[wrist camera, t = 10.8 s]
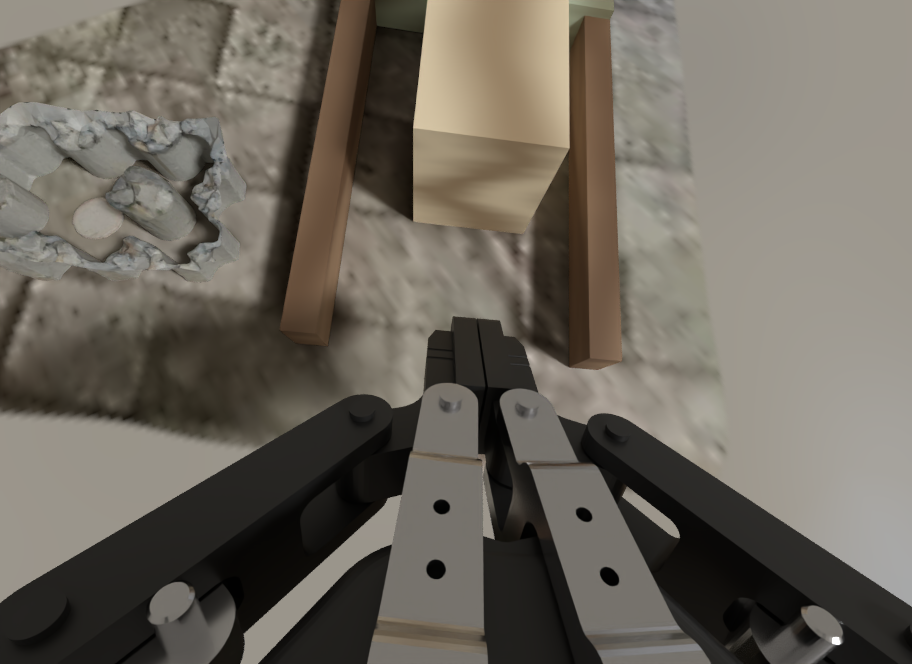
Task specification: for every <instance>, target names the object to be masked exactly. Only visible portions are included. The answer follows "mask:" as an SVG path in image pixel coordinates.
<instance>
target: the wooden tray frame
mask: <svg viewBox="0 0 912 664" xmlns="http://www.w3.org/2000/svg"><path fill="white" fill-rule="evenodd" d="M426 9H427V0H341V3H340V8H339V13H338V19H337V24H336V30H335V35H334V40H333V46H332V51H331V56H330V62H329V67H328V72H327V78H326V83H325V89H324V94H323V99H322V105H321V110H320V115H319V121H318V126H317V131H316V137H315V142H314V148H313V153H312V158H311V164H310V169H309V174H308V180H307V185H306V190H305V196H304V201H303V207H302V212H301V217H300V223H299V228H298V233H297V239H296V244H295V249H294V255H293V260H292V266H291V271H290V276H289V282H288V287H287V292H286V298H285V303H284V308H283V314H282V319H281V325H280V331H281V332H282V333H284V334H285V335H286V336H287V337H289V338H290V339H291V340H292V341H294V342H295V343H297V344H309V345H320V346H328V342H329V336H330V329H331V322H332V316H333V309H334V303H335V296H336V290H337V283H338V277H339V270H340V264H341V257H342V251H343V244H344V238H345V231H346V225H347V218H348V212H349V205H350V199H351V192H352V185H353V179H354V172H355V166H356V159H357V153H358V146H359V140H360V133H361V127H362V120H363V114H364V107H365V101H366V94H367V88H368V81H369V75H370V68H371V62H372V55H373V48H374V42H375V35H376V29H377V26H381V27H388V28H394V29H401V30H408V31H414V32H421V33H424V27H425V18H426ZM613 12H614V0H569V141H570V148H569V367H571V368H582V369H593V370H599V369H602V368H604V367H607V366H610V365H613V364H616V363H618V362H621V361H622V343H621V316H620V288H619V260H618V233H617V205H616V178H615V150H614V122H613V95H612V67H611V39H610V18H611V16H612V14H613Z"/></svg>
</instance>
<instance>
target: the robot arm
mask: <svg viewBox="0 0 912 664" xmlns="http://www.w3.org/2000/svg"><path fill="white" fill-rule="evenodd" d="M478 454H485V457H486V465H485V469H484V474H483V481H484V486H485V491H486V496H487V502H488V506H489V512H490V517H491V522H492V528H493V533H494V538H495V540H494V539H490V538H487V537H484V536H483V494H482V493H483V484H482V460H481V459H478ZM627 486H628V487H629V488H630V489H632V490H633V491H634V492H635V493H637V494H638V495H639V496H641V497H642V498H643V499H645V500H646V501H647V502H648V503H650V504H651V505H652V506H654V507H655V508H656V509H657V510H659V511H660V512H661V513H663V514H664V515H665V516H666V517H668V518H669V519H671V521H672V522H673V523H674V524H675V525H676V527H677V529H678V531H679V534H680V538H675V537H673V536H671V535H669V534H668V533H667V532H665V531H664V530H663V529H661V528H660V527H659V526H658V525H656V524H655V523H654V522H652V520H650V519H649V518H648V517H647V516H645V515H644V514H643V513H641V512H640V511H639V510H638V509H636V508H635V507H634V506H633V505H632V504H630V503H629V502H628V501H626V500H625V499H624V498H623V497H622V495H623V493H624V491H625V489H626V487H627ZM398 495H402V497H401V502H400V507H399V513H398V518H397V523H396V528H395V534H394V539H393V543H392V545H389V546H386V547H384V548H381V549H379V550H377V551H375V552H373V553H371V554H369V555H368V556H366V557H364V558H363V559H361V560H360V561H358V562H357V563H356V564H355V565H354V566H352V567H351V568H350V569H349V570H348V571H347V572H346V573H345V574H344V575H343V576H342V577H341V578H340V579H339V580H338V581H337V582H336V583H335V584H334V585H333V586H332V587H331V588H330V589H329V590H328V591H327V592H326V593H325V594H324V595H323V596H322V598H321V599H320V600H319V601H318V602H317V603H316V604H315V605H314V606H313V607H312V608H311V609H310V610H309V611H308V612H307V613H306V614H305V615H304V616H303V617H302V618H301V619H300V620H299V622H298V623H297V624H296V625H295V626H294V627H293V628H292V629H291V630H290V631H289V632H288V633H287V634H286V635H285V636H284V637H283V638H282V639H281V641H279V642H278V643H277V645H276V646H275V647H274V648H273V649H272V650H271V651H270V652H269V653H268V654H267V655H266V656H265V657H264V658H263V659H262V660H261V661H260V662H259V663H258V664H912V607H911V606H910V605H908V604H907V603H905V602H904V601H902V600H901V599H899V598H897V597H896V596H894V595H893V594H891V593H890V592H888V591H887V590H885V589H884V588H882V587H881V586H879V585H878V584H876V583H875V582H873V581H871V580H870V579H869V578H867V577H866V576H864V575H863V574H861V573H859V572H858V571H857V570H855V569H853V568H852V567H850V566H849V565H847V564H846V563H844V562H842V561H841V560H840V559H838V558H837V557H835V556H834V555H832V554H831V553H829V552H828V551H826V550H825V549H823V548H821V547H820V546H819V545H817V544H815V543H814V542H812V541H811V540H809V539H808V538H806V537H804V536H803V535H802V534H800V533H799V532H797V531H796V530H794V529H793V528H791V527H790V526H788V525H787V524H785V523H784V522H782V521H780V520H779V519H777V518H776V517H774V516H773V515H771V514H769V513H768V512H767V511H765V510H764V509H762V508H761V507H759V506H758V505H756V504H755V503H753V502H752V501H750V500H749V499H747V498H745V497H744V496H743V495H741V494H739V493H738V492H736V491H735V490H733V489H732V488H730V487H729V486H727V485H726V484H724V483H723V482H721V481H720V480H718V479H717V478H715V477H714V476H712V475H711V474H709V473H708V472H706V471H704V470H703V469H701V468H700V467H698V466H697V465H695V464H694V463H692V462H691V461H689V460H688V459H686V458H685V457H683V456H682V455H680V454H679V453H677V452H676V451H674V450H673V449H671V448H670V447H668V446H666V445H665V444H663V443H662V442H660V441H659V440H657V439H656V438H654V437H653V436H651V435H650V434H648V433H647V432H645V431H644V430H642V429H641V428H639V427H638V426H636V425H635V424H633V423H632V422H630V421H628V420H626V419H624V418H622V417H620V416H617V415H613V414H604V413H603V414H597V415H594V416H592V417H591V418H590V419H589V421H588V423H587V425H585V424H581V423H578V422H575V421H571V420H568V419H565V418H563V417H561V416H558V415H557V414H556V412H555V409H554V407H553V405H552V404H551V402H550V401H549V400H548V399H547V398H546V397H544V396H543V395H541V394H539V393H538V390H537V387H536V384H535V381H534V377H533V374H532V371H531V368H530V367H529V362H528V358H527V355H526V352H525V349H524V346H523V345H522V344H521V343H520V342H519V341H518V340H517V339H516V338H515V337H509V336H504V335H503V331H502V327H501V323H500V321H498V320H488V319H475V318H466V317H455V316H453V318H452V324H451V331H441V330H435V331H434V332H433V334H432V335H431V336H430V337H429V338H428V348H427V358H426V368H425V378H424V393H423V395H422V397H421V398H420V399H419V400H418V401H416V402H415V403H413V404H410V405H408V406H404V407H399V408H393V409H392V408H391V406H390V405H389V404H388V403H387V402H386V401H385V400H383V399H382V398H379V397H377V396H373V395H366V394H364V395H354V396H350V397H347V398H345V399H343V400H341V401H339V402H338V403H336V404H334V405H333V406H331V407H329V408H327V409H326V410H324V411H322V412H321V413H319V414H317V415H315V416H314V417H312V418H310V419H309V420H307V421H305V422H303V423H302V424H300V425H298V426H297V427H295V428H293V429H292V430H290V431H288V432H286V433H285V434H283V435H281V436H280V437H278V438H276V439H274V440H273V441H271V442H269V443H268V444H266V445H264V446H262V447H261V448H259V449H257V450H256V451H254V452H252V453H251V454H249V455H247V456H245V457H244V458H242V459H240V460H239V461H237V462H235V463H234V464H232V465H230V466H228V467H227V468H225V469H223V470H221V471H220V472H218V473H217V474H215V475H213V476H211V477H210V478H208V479H206V480H205V481H203V482H201V483H199V484H198V485H196V486H194V487H192V488H191V489H189V490H187V491H186V492H184V493H182V494H180V495H179V496H177V497H175V498H174V499H172V500H170V501H168V502H167V503H165V504H163V505H162V506H160V507H158V508H157V509H155V510H153V511H151V512H150V513H148V514H146V515H145V516H143V517H141V518H139V519H138V520H136V521H134V522H133V523H131V524H129V525H128V526H126V527H124V528H122V529H121V530H119V531H117V532H116V533H114V534H112V535H110V536H109V537H107V538H105V539H104V540H102V541H100V542H98V543H97V544H95V545H93V546H92V547H90V548H88V549H86V550H85V551H83V552H81V553H80V554H78V555H76V556H75V557H73V558H71V559H69V560H68V561H66V562H64V563H63V564H61V565H59V566H57V567H56V568H54V569H52V570H51V571H49V572H47V573H46V574H44V575H42V576H40V577H39V578H37V579H35V580H33V581H32V582H30V583H29V584H27V585H25V586H23V587H22V588H20V589H19V590H17V591H16V592H14V593H13V594H12V595H10V596H9V597H7V598H6V599H5V600H3V601H2V602H1V603H0V664H240V663H241V660H242V658H243V653H244V645H245V640H244V633H245V632H246V631H247V630H248V629H249V628H250V627H252V625H254V624H255V623H256V622H257V621H258V620H259V619H260V618H261V617H263V616H264V615H265V614H266V613H267V612H268V611H269V610H270V609H271V608H272V607H274V606H275V605H276V604H277V603H278V602H279V601H280V600H281V599H282V598H283V597H285V596H286V595H287V594H288V593H289V592H290V591H291V590H292V589H293V588H294V587H295V586H297V585H298V584H299V583H300V582H301V581H302V580H303V579H304V578H305V577H307V576H308V575H309V574H310V573H311V572H312V571H313V570H314V569H315V568H316V567H317V566H319V565H320V563H322V562H323V561H324V560H325V559H326V558H327V557H328V556H330V555H331V554H332V553H333V552H334V551H335V550H336V549H337V548H338V547H339V546H341V545H342V544H343V543H344V542H345V541H346V540H347V539H348V538H349V537H350V536H352V535H353V534H354V533H355V532H356V531H357V530H358V529H359V528H360V527H361V526H362V525H364V524H365V523H366V522H367V521H368V520H369V519H370V518H371V517H372V516H374V515H375V514H376V513H377V512H378V511H379V510H380V509H381V508H382V507H383V506H384V504H385V503H386V501H387V499H388V498H390V497H394V496H398Z"/></svg>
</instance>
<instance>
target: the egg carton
mask: <svg viewBox="0 0 912 664" xmlns="http://www.w3.org/2000/svg"><path fill="white" fill-rule="evenodd" d="M67 157H71V158H72V159H74V160H75V161H76V162H77V163H79V164H80V165H81V166H83V167H84V168H85V169H86V170H87V171H89V172H90V173H91V174H92V175H94V176H96V177H99V178H102V179H112V178H116V177H120V178H119V179H118V180H117V181H116V183H115V185H114V187H113V189H112V191H111V192H108V193H106V199H105V198H101V197H98V198H93V199H90V200H87V201H85V202H84V203H83V204H81V205H80V206H79V207H78V208H77V209H76V210H75V212H74V215H73V221H72V223H73V225H74V228H75V230H76V232H77V233H79V234H80V235H81V236H83V237H84V238H89V239H98V238H99V239H101V238H106V237H108V236H110V235H112V234H113V233H114V232H116V231H117V230H118V229H119V228H120V226H121V225H122V222H123V220H124V214H126V215H127V216H128V217H130V218H131V219H132V220H134V221H135V222H137V223H138V224H139V225H140V226H142V227H143V228H144V229H146V230H147V231H148V232H150V233H151V234H153V235H154V236H156V237H157V238H160V239H162V240H170V241H172V240H177V239H180V238H182V237H185V236H186V235H188V234H189V233H190V232H191V231H192V229H193V227H194V225H195V224H196V214H195V211H194V209H193V208H192V207H191V206H190V204H189V203H188V202H187V201H186V200H185V199H184V198H183V197H182V196H181V195H180V194H179V193H178V192H177V191H176V189H175V188H174V187H173V186H172V185H171V184H170V183H169V181H167V180H166V179H164V178H162V177H160V176H159V175H158V174H156V173H154V172H152V171H150V170H148V169H145V168H142V167H139V166H132V165H133V164H134V163H135V161H136V160H148V161H149V162H150V163H151V164H152V165H153V166H154V167H155V168H156V169H157V170H158V171H159V172H160V173H161V174H162V175H163V176H164V177H165V178H167V179H169V180H174V181H186V180H189V179H192V178H193V177H195V176H196V175H197V174H198V173H199V172H200V171H201V170H202V169H203V167H204V165H205V164H206V163H214V165H213V167H211V168H209V169H207V170H206V171H205V176H204V181H203V182H202V183H200V184H198V185H196V186H194V188H193V190H192V195H191V196H190V197H191V200H192V201H193V202H194V203H195V204H197V205H198V207H199V208H198V209H199V210H200V211H201V212H202V213H203V214H204V215H205V216H206V217H207V218H208V220H209V221H210V222H212V224H213V225H214V226H215V227H216V228H217V229H218V230H219V231H220V234H219V238H218V241H216V242H214V243H199V245H198V246H197V247H196V248H195V249H194V250H192V251H190V252H188V253H187V255H188V256H189V258H190V263H188V264H178V263H177V262H175V261H174V260H172V259H171V258H170V257H169V256H167V255H166V254H165V253H163V252H162V251H161V250H159V249H158V248H157V247H156V246H154V245H152V244H150V243H148V242H145V241H142V240H140V239H138V238H136V237H134V236H128V237H125V238H124V239H123V242H124V243H123V246H122V248H121V249H120V250H118V251H116V252H114V253H112V254H111V255H110V256H108V257H107V259H106V261H105V262H104V263H102V262H101V261H99V260H98V259H96V258H94V257H93V256H91V255H89V254H87V253H86V252H84V251H82V250H80V249H78V248H76V247H74V246H72V245H70V244H69V243H68V242H67V241H65V240H64V239H62V238H60V237H58V236H57V235H56V236H45V235H43V234H41V233H39V231H40V230H41V229H43V228H44V226H45V225H46V224H47V222H48V219H49V209H48V206H47V204H46V203H45V202H44V201H43V200H42V199H40V198H39V197H37V196H36V195H34V194H32V193H31V192H29V190H30V188H31V186H32V183H33V180H34V179H35V178H36V177H40V176H44V175H47V174H49V173H51V172H53V171H54V170H56V169H57V168H58V167H59V165H60V164H61V161H62V160H63V159H64V158H67ZM245 192H246V183H245V182H244V180H243V179H242V178H241V177H240V175H239V173H238V172H237V170H236V169H235V167H234V166H233V164H232V163H231V161H230V159H229V158H228V157H227V153H226V150H225V146H224V141H223V135H222V131H221V126H220V122H219V118H216V117H210V118H203V119H186V120H184V121H181V122H178V121H169V120H167V119H165V118H164V117H162V116H159V117H158V118H157V119H151V118H149V117H147V116H145V115H142V114H140V113H138V112H136V111H134V110H133V111H128V112H123V113H112V112H105V111H98V110H90V111H79V110H73V109H68V108H63V107H58V106H52V105H47V104H42V103H37V102H19V103H17V104H15V105H12V106H10V107H9V108H8V109H6V110H5V111H4V112H3V113H1V114H0V266H2V267H4V268H5V269H7V270H9V271H11V272H15V273H17V274H20V275H25V276H29V277H32V278H34V279H38V280H45V281H50V280H60V279H61V277H62V275H63V273H64V272H65V271H67V270H68V269H69V268H70V267H71V266H72V265H74V266H77V267H84V268H87V269H88V270H90V271H94V272H96V273H98V274H100V275H101V276H104V277H106V278H107V279H109V280H112V281H122V280H127V279H136V278H138V277H139V275H140V274H141V272H142V271H143V270H171V269H173V270H174V271H176V272H177V273H178V274H179V275H182V276H183V277H184V278H185V279H186V280H187V281H190V282H206V281H210V280H211V279H212V277H213V275H214V273H215V272H216V270H217V269H218V268H219V267H221V266H223V265H224V264H227V263H230V262H233V261H236V260H238V258H239V249H240V243H239V242H238V241H237V239H236V238H235V237H233V235H232V234H231V233H230V231H229V230H228V229H227V228H226V227H225V226H224V225H223V224H222V223H221V222H220V221H218V219H219V216H220V214H221V213H222V211H224V210H225V209H226V208H227V207H228V206H230V205H232V204H234V203H237V202H240V201H243V200H244V199H245ZM123 213H124V214H123Z"/></svg>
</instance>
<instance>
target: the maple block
mask: <svg viewBox="0 0 912 664" xmlns="http://www.w3.org/2000/svg"><path fill="white" fill-rule="evenodd" d="M569 148H570V141H569V0H427V9H426V18H425V27H424V36H423V45H422V54H421V63H420V72H419V81H418V90H417V99H416V108H415V117H414V126H413V222H421V223H430V224H439V225H448V226H456V227H465V228H474V229H483V230H492V231H501V232H510V233H519V234H523V233H524V231H525V230H526V228H527V226H528V224H529V222H530V220H531V219H532V217H533V215H534V213H535V211H536V209H537V207H538V206H539V204H540V202H541V200H542V198H543V196H544V195H545V193H546V191H547V189H548V187H549V185H550V183H551V182H552V180H553V178H554V176H555V174H556V172H557V171H558V169H559V167H560V165H561V163H562V161H563V159H564V158H565V156H566V154H567V152H568V150H569Z"/></svg>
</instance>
